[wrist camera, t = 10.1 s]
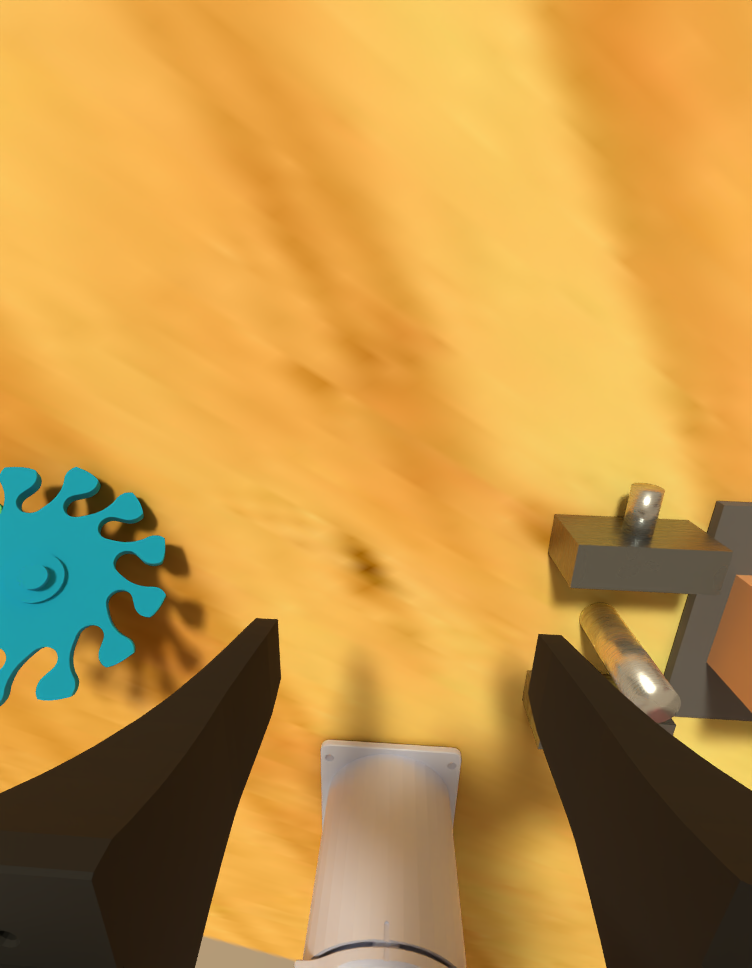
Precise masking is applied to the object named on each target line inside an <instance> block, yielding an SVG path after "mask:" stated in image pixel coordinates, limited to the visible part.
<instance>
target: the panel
mask: <svg viewBox="0 0 752 968" xmlns="http://www.w3.org/2000/svg"><path fill="white" fill-rule="evenodd" d="M707 534H709V535H710V536H711V537H713V538H714V539H716V540H717V541H719V542H720V543H722V544H723V545H724V546H726V547H727V548H729V549H730V550H732V551H733V555H732V558H731V561H730V564H729V567H728V570H727V573H726V576H725V579H724V582H723V585H722V588H721V591H720V594H719V595H703V594H689V595H688V598H687V601H686V605H685V608H684V611H683V614H682V618H681V621H680V624H679V628H678V631H677V634H676V637H675V641H674V644H673V647H672V650H671V654H670V657H669V660H668V664H667V667H666V670H665V673H664V677H665V678H666V679H667V681H668V682H669V683H670V685H671V686H672V687H673V689H674V690H675V692H676V693H677V694H678V696H679V697H680V700H681V705H680V708H679V710H678V712H677V713H676V714H675V715H674V716H675V717H691V718H708V719H724V720H741V721H752V713H751V711H750V710H749V709H748V708H747V707H746V706H745V705H744V704H743V702H742V701H741V700H740V699H739V698H738V697H737V696H736V695H735V693H734V692H733V691H732V690H731V689H730V688H729V687H728V686H727V685H726V683H725V682H724V681H723V680H722V679H721V678H720V677H719V676H718V674H717V673H716V672H715V671H714V670H713V669H712V668H711V667H710V666H709V664H708V663H707V659H708V656H709V653H710V650H711V647H712V644H713V641H714V638H715V636H716V633H717V630H718V627H719V624H720V621H721V618H722V615H723V612H724V609H725V606H726V603H727V600H728V597H729V594H730V591H731V588H732V586H733V583H734V580H735V577H736V575H752V502H730V501H717V503H716V506H715V509H714V513H713V516H712V519H711V522H710V526H709V529H708V532H707Z"/></svg>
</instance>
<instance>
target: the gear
mask: <svg viewBox="0 0 752 968" xmlns="http://www.w3.org/2000/svg"><path fill="white" fill-rule="evenodd" d="M0 482H1V484H2V486H3V489H4V493H5V501H4V506H2V505H1V504H0V649H2V650H3V651H4V652H5V654H6V662H5V664H4V666H3V667H2V668H1V669H0V706H1V705H2V704H3V703H5V701H6V700H7V699H8V697H9V695H10V691H11V686H12V683H13V680H14V678H15V676H16V674H17V672H18V671H19V669H20V668H21V667H22V666H23V664H24V663H25V662H26V661H27V660H28V659H29V658H30V657H32V656H33V655H34V654H35V653H36V652H38V651H39V650H40V649H42V648H44V647H51V648H53V649H54V650H55V651H56V652H57V655H58V661H57V663H56V665H55V667H54V668H53V669H52V670H51V671H49V672H48V673H47V674H46V675H45V676H44V677H43V678H42V679H41V680H40V681H39V683H38V685H37V687H36V697H37V699H40V700H58V699H63V698H67V697H71V696H73V695H74V694H75V693H76V691H77V689H78V686H79V679H78V676H77V674H76V672H75V669H74V664H73V656H74V650H75V647H76V644H77V641H78V639H79V636H80V634H81V632H82V631H83V630H84V629H85V628H87V627H89V626H92V625H96V626H98V627H100V628H101V629H102V630H103V633H104V639H103V642H102V644H101V647H100V650H99V660H100V662H101V664H102V665H103V666H105V667H106V668H107V667H110V666H113V665H115V664H117V663H120V662H121V661H123V660H125V659H126V658H128V657H129V656H130V655H132V654H133V653H134V652H135V644H134V642H133V641H132V640H131V639H130V638H128V637H127V636H125V635H123V634H122V633H121V632H120V631H119V630H118V629H117V628H116V627H115V625H114V623H113V622H112V619H111V616H110V611H109V606H108V603H109V600H110V598H111V597H112V596H113V595H114V594H115V593H117V592H120V591H125V592H128V593H130V594H131V595H132V598H133V602H134V607H135V609H136V611H137V612H138V613H139V614H140V615H142V616H144V617H150V618H151V617H152V616H153V615H154V614H155V613H156V612H157V611H158V610H159V608H160V607H161V605H162V604H163V602H164V600H165V598H166V594H165V593H164V591H163V590H162V589H160V588H158V587H146V586H140V585H137V584H134V583H132V582H130V581H128V580H127V579H125V578H124V577H123V576H122V575H121V574H120V573H119V572H118V571H117V570H116V562H117V560H118V558H119V557H121V556H122V555H124V554H134V555H136V556H137V557H139V558H140V559H141V560H142V561H143V562H144V563H145V564H147V565H149V566H158V565H161V564H162V563H163V561H164V558H165V538H163V537H161V536H149V537H147V538H145V539H142V540H139V541H134V542H119V541H114V540H110V539H106V538H103V537H102V536H101V528H102V527H103V525H104V524H106V523H107V522H109V521H119V522H123V523H128V524H133V523H137V522H139V521H140V520H142V519H143V518H144V514H143V510H142V507H141V504H140V502H139V501H138V499H137V498H136V496H135V495H134V494H133V493H124V494H122V495H120V496H119V497H118V498H117V499H116V500H115V501H114V502H113V503H112V504H111V505H110V506H108V507H107V508H105V509H104V510H102V511H99V512H97V513H94V514H90V515H86V516H81V517H71V516H69V515H68V514H67V508H68V506H69V505H70V504H71V503H72V502H73V501H76V500H80V499H85V498H89V497H92V496H94V495H95V494H97V493H98V491H99V490H100V487H101V485H100V483H99V481H98V479H97V478H96V477H95V476H93V475H92V474H91V473H89V472H87V471H85V470H83V469H80V468H78V467H75V468H72V469H71V470H69V471H68V472H67V474H66V475H65V478H64V484H63V486H62V489H61V490H60V492H59V494H58V495H57V496H56V497H55V498H54V499H53V500H52V501H51V502H50V503H49V504H47V505H46V506H45V507H43V508H42V509H40V510H39V511H37V512H34V513H25V512H23V511H22V503H23V502H24V500H25V499H27V498H28V497H29V496H31V495H32V494H34V493H35V492H36V491H38V489H39V488H40V486H41V483H42V480H41V477H40V475H39V474H38V473H37V472H36V471H35V470H33V469H30V468H23V467H6V468H4V469H3V470H2V471H1V473H0Z"/></svg>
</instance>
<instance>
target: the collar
mask: <svg viewBox="0 0 752 968" xmlns="http://www.w3.org/2000/svg"><path fill="white" fill-rule="evenodd" d="M707 663H708V664H709V666H710V667H711V668H712V669H713V670H714V671H715V672H716V673H717V674H718V676H719V677H720V678H721V679H722V680H723V681H724V682H725V683H726V685H727V686H728V687H729V688H730V689H731V690H732V691H733V692H734V693H735V695H736V696H737V697H738V698H739V699H740V700H741V701H742V702H743V704H744V705H745V706H746V707H747V708H748V709H749V710H750V711H751V713H752V575H736V577H735V580H734V583H733V586H732V588H731V591H730V594H729V597H728V600H727V603H726V606H725V609H724V612H723V615H722V618H721V621H720V624H719V627H718V630H717V633H716V636H715V638H714V641H713V644H712V647H711V650H710V653H709V656H708V659H707Z"/></svg>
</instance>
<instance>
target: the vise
mask: <svg viewBox="0 0 752 968" xmlns="http://www.w3.org/2000/svg"><path fill="white" fill-rule="evenodd" d="M664 492H665V490H664V489H663V488H661V487H659V486H656V485H652V484H647V483H634V484H632V485H631V490H630V494H629V498H628V503H627V507H626V511H625V516H624V517H602V516H580V515H557V514H555V517H554V522H553V528H552V534H551V539H550V545H549V551H548V553H549V555H550V557H551V558H552V560H553V561H554V563H555V565H556V566H557V568H558V569H559V571H560V572H561V574H562V576H563V577H564V579H565V580H566V582H567V584H568V585H569V587H570V588H584V589H604V590H624V591H643V592H663V593H683V594H703V595H719V594H720V591H721V588H722V585H723V582H724V579H725V576H726V573H727V570H728V567H729V564H730V561H731V558H732V555H733V551H732V550H730V549H729V548H727V547H726V546H724V545H723V544H722V543H720V542H719V541H717V540H716V539H714V538H713V537H711V536H710V535H709V534H707V533H706V532H704V531H703V530H701V529H700V528H699V527H697V526H696V525H694V524H693V523H691V522H690V521H689V520H670V519H658V515H659V511H660V508H661V504H662V500H663V496H664ZM580 624H581V626H582V628H583V630H584V631H585V633H586V635H587V636H588V638H589V640H590V642H591V643H592V645H593V647H594V648H595V650H596V652H597V653H598V655H599V657H600V658H601V660H602V662H603V664H604V665H605V667H606V669H607V670H608V672H609V674H610V675H603V676H604V677H605V678H606V679H607V680H608V681H609V682H610V683H612V684H613V685H614V686H615V687H616V688H617V689H618V690H619V691H620V692H621V693H622V694H624V695H625V696H626V697H627V698H628V699H629V700H630V701H631V702H633V703H634V704H635V705H636V706H637V707H638V708H640V709H641V710H642V711H643V712H644V713H645V714H647V715H648V716H649V717H650V718H651V719H653V720H654V721H655V722H656V723H657V724H659V725H660V726H661V727H662V728H664V729H665V730H666V731H667V732H669V733H670V734H671V735H672V736H673V733H674V730H675V727H676V724H675V723H674V721H673V720H672V719H671V718H672V717H673V716H674V715H675V714H676V713H677V712H678V710H679V708H680V705H681V700H680V697H679V696H678V694H677V693H676V692H675V690H674V689H673V687H672V686H671V685H670V683H669V682H668V681H667V679H666V678H665V677H664V675H663V674H662V673H661V671H660V670H659V669H658V667H657V666H656V664H655V663H654V662H653V660H652V659H651V658H650V656H649V655H648V654H647V652H646V651H645V650H644V648H643V647H642V646H641V644H640V643H639V641H638V640H637V639H636V637H635V636H634V635H633V633H632V632H631V631H630V629H629V628H628V627H627V625H626V624H625V623H624V621H623V620H622V618H621V617H620V616H619V614H618V613H617V612H616V610H615V609H614V608H613V607H612V606H611V605H609V604H606V603H594V604H591V605H589V606H588V607H586V608H585V609H584V610H583V611H582V613H581V615H580ZM531 673H532V671H527V676H526V682H525V688H524V694H523V699H522V700H523V703H524V707H525V710H526V713H527V716H528V719H529V722H530V725H531V728H532V732H533V735H534V738H535V741H536V744H537V747H538V749H543V748H542V745H541V742H540V739H539V736H538V734H537V731H536V727H535V722H534V718H533V714H532V710H531V705H530V700H529V696H528V690H529V684H530V679H531Z"/></svg>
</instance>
